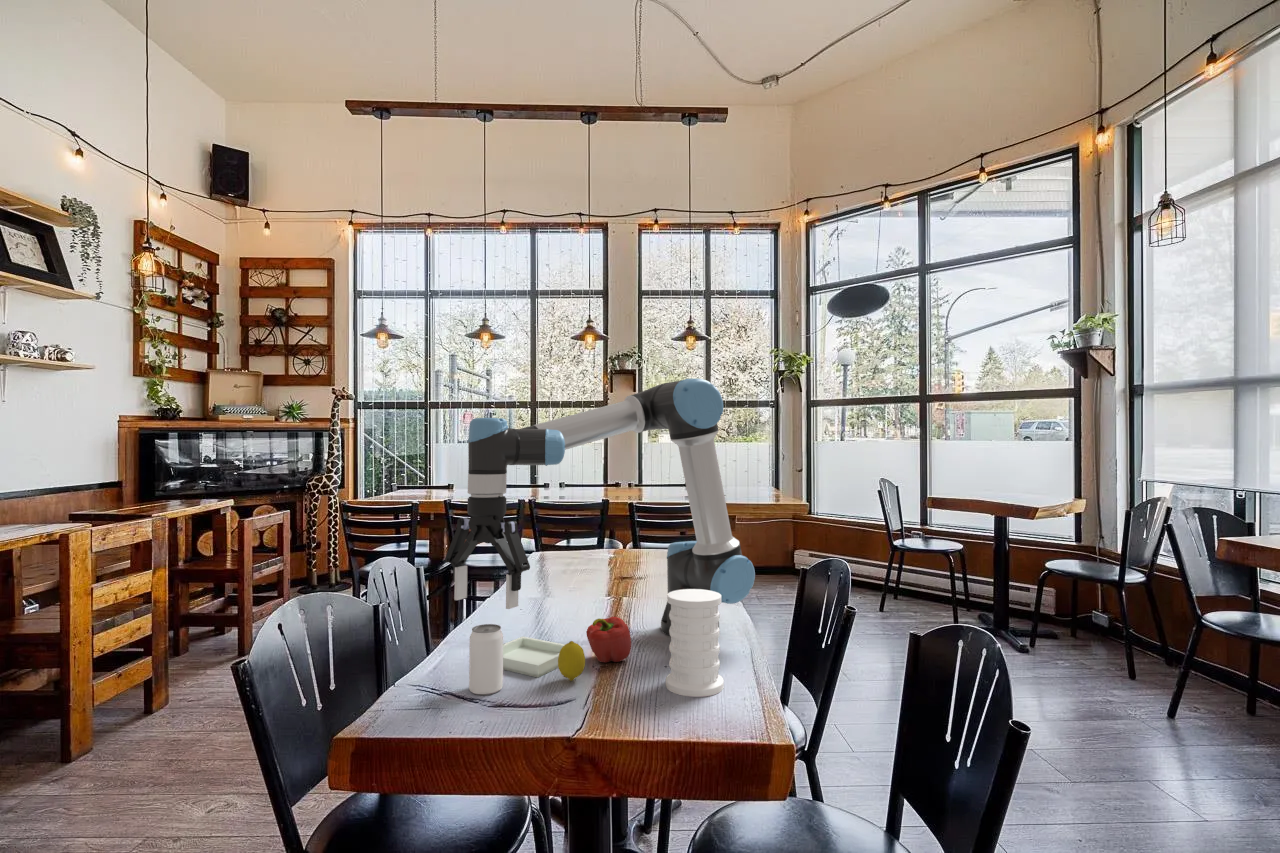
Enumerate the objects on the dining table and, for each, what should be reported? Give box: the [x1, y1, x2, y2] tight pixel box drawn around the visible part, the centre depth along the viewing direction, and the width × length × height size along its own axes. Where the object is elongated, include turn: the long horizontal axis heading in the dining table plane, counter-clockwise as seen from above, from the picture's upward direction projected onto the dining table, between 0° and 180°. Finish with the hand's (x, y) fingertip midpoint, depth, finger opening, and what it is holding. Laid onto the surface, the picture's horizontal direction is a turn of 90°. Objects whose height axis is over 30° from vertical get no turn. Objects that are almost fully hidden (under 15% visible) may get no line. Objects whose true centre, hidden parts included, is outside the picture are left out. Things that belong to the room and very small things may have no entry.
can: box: [468, 623, 504, 696], centre depth 124 cm, size 6×6×12 cm
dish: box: [503, 636, 565, 678], centre depth 141 cm, size 16×14×2 cm
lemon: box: [558, 640, 586, 682], centre depth 129 cm, size 6×6×8 cm
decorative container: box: [665, 589, 725, 698], centre depth 126 cm, size 12×12×18 cm
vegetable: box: [585, 615, 632, 664], centre depth 141 cm, size 11×10×10 cm
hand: (485, 603), depth 125 cm, fingers open, 13 cm apart
